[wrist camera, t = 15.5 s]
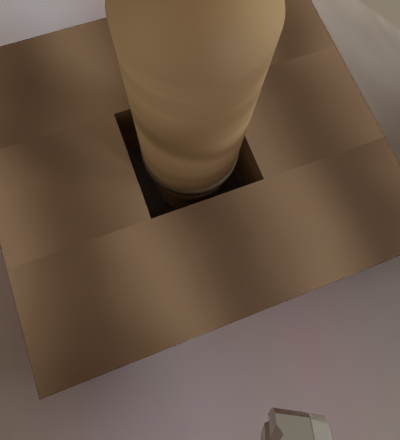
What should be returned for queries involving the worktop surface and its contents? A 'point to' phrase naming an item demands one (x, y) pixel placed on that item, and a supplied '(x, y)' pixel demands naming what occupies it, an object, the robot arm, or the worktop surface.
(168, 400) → the worktop surface
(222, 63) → the peg
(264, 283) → the board
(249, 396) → the worktop surface
